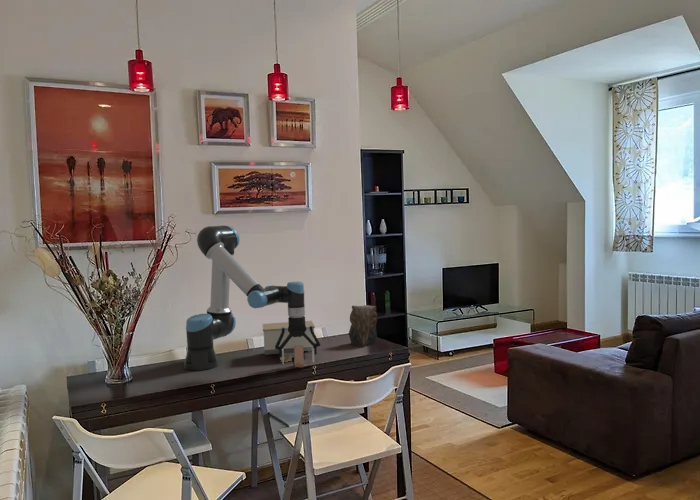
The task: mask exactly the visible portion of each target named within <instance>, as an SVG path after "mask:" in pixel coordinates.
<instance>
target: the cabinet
mask: <svg viewBox="0 0 700 500" xmlns="http://www.w3.org/2000/svg"><path fill="white" fill-rule="evenodd" d="M310 325H311V326H312V328H313V332H314V333H315V328H316V327H315V326H316V325H315V324H314V322H313V321H312V320H305V326H306V327H308V326H310ZM282 327H284V328H288V327H289V323H288V321H286V322H271V323H262V332H263V347H264V348H263V351H264V355H279V350H278V349H275V345H276V343H277V341H278V339H279V336H280V334H281V332H282ZM289 334H290V333H289V332H288V331H286V333H284V336H283V338H282V340H281V342H280V345H281V344H282V343H283V342H284V340H285V339H286V338H287V336H288V335H289ZM305 334H306V335H307V336H308V337H309V338H310V339H311V340H312V341H313V342H314V343H315V344H316V341H315V339H314V338H313V336H312V334H311V332H310V331H308V329H307V330H306V331H305ZM280 345H279V346H280ZM300 345H303V353H305V352H304V351H308V352H312V347H313V346H312V345H311V344H310V343H309V341H308V340H307V339H306V338H305V337H304V336H301V337H293V336H292V337H291V339H290V340H289V341H288V342H287V344H286V345H285V346H284V347H283V349H284V353H289V352H294V346H300Z"/></svg>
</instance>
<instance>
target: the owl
mask: <svg viewBox="0 0 700 500" xmlns="http://www.w3.org/2000/svg"><path fill="white" fill-rule="evenodd" d="M349 322H350V324H351V325H350V327H349V331H348V336H349V337H348V338H349V339H350V340H349V341H350V344H351V345H353V344H354V345H353V346H357V345H358V346H357V347H360V346H362V348H366V347H369V346H373V345H374V344H376V340H377V338H378V332H377V327H376V326H377V322H378V313H377V305H370V304H365V305H352V306H351V312H350V314H349ZM365 346H366V347H365Z"/></svg>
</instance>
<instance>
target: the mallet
mask: <svg viewBox="0 0 700 500" xmlns="http://www.w3.org/2000/svg"><path fill="white" fill-rule="evenodd" d="M304 353H305V352H303V345H300V346H294V352H289V353H284V355H291V360H294V363H293V364H294V368H295V367H299V368H304V367H305V362H304V361H305V359H304ZM292 358H294V359H292ZM303 366H304V367H303Z"/></svg>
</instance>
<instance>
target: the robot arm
mask: <svg viewBox="0 0 700 500" xmlns="http://www.w3.org/2000/svg"><path fill="white" fill-rule="evenodd" d="M196 243H197V247H198V249H199V250H200V252H201V253H202V254H203V256H205V258H207V259H208V260H209V259H210V260H211V280H210V282H211V284H210V285H211V286H210V303H209V304H210V306H209V307H208V308H206V313H199V314H194V315H192V316H190V317H188V318H187V319H186V322H185V323H186V325H185V330H186V344H187V345H186V346H187V347H186V348H187V351H186V355H185V359H184V363H183V364H184V365H183V366H184V367H183V368H184V370H186V371H187V370H188V371H203V370H204V371H205V370H210V369H213V368H216V367H217V366H219V360H218V359H219V358H218V356H217V354H216V351H215V349H214V348H215V347H214V340H217V339H219V338H225V337H226V336H229V335H230V334H231V333H233V331H234V330H235V328H236V324H237V322H236V317H235V316H234V313H232V309H231V307H230V306H229V305H230V304H229V303H230V301H229V300H230V282H231V281H232V282H233V283H234V285H236V287H238V288H239V290H240V291H241V292H243V294H245V296H246V297H247V299H246V300H247V303H248V306H250V307H251V308H253V309H262V308H264V307H266V306H270V305H275V304H278V303H282V304H283V303H284V304H285V303H286V304H287V316H288V321H287V322H288V323H289V327H288V328H284V327H282V332H281V334H280V336H279V339H278V341H277V343H276V345H275V349H278V350H279V354H278V355H279V358H280V357H282V363H281V364H282V366H283V365H285V363H284V349H283V347H284V346H285V345H286V344H287V342H288V341H289V340H290V339H291V337H292V336H293V337H301V336H304V337H305V338H306V339H307V340H308V341H309V343H310V344H311V345H312V346H313V347H312V351H311V358H312V359H311V360H312V363H315V355H317V354H318V352H317V350H318V349H317V347H320V346H321V343H320V341H319V339H318V337H317V336H316V333H315V331H314V332H313V328H312V326H311V325H310V326H308V327H306V326H305V321H306V317H305V316H306V311H305V309H306V308H305V306H306V305H305V287H304V283H303V281H289V282H287V284H286V286H284V285H283V286H282V285H267V286H265V287H263V286H262V285H261V284H260V283H259V282H258V281H257V280H256V279H255V278H254V276H252V275H251V274H250V273H249V272H248V270H246V268H244V267H243V266H242V264H241V263H239V261H237V259H236V258H235V257H234V255H235V249H236V248H238V246H239V244H240V235H239V233H238V231H237V230H236V228H234V227H233V226H230V225H215V226H214V225H210V226H206V227H204V228H202V229H201V230H200V231H199V232H198V235H197V237H196ZM307 329H308V331H310V332H311V334H312V336H313V338H314V342H315V343H314V342H313V341H312V340H311V339H310V338H309V337H308V336H307V335H306V334H305V331H306V330H307ZM286 331H288V332H289V333H290V334H289V335H288V336H287V338H286V339H285V340H284V342H283V343H282V344H281V345H280V342H281V340H282V338H283V336H284V333H286ZM279 345H280V346H279Z"/></svg>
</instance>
